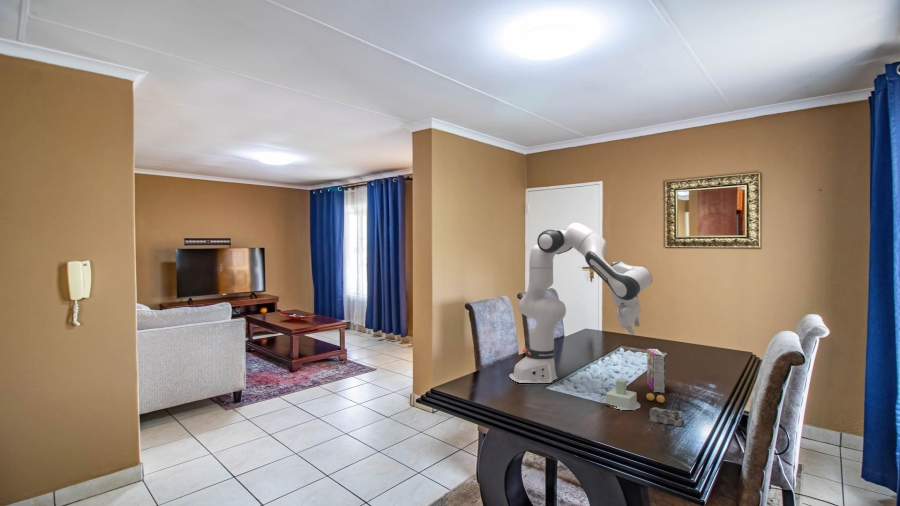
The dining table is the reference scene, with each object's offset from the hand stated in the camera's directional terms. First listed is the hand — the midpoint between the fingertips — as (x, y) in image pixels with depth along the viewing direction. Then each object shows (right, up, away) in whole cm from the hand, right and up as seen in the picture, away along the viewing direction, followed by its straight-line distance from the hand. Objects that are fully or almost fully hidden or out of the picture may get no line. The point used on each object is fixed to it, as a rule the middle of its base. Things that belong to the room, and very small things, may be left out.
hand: (635, 330), depth 185 cm
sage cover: (-11, -27, -12) cm, 31 cm away
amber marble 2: (+6, -27, -11) cm, 30 cm away
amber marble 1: (+3, -27, -8) cm, 28 cm away
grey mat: (-11, -27, -12) cm, 32 cm away
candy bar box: (+12, -27, +6) cm, 30 cm away
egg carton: (-1, -28, -28) cm, 40 cm away
